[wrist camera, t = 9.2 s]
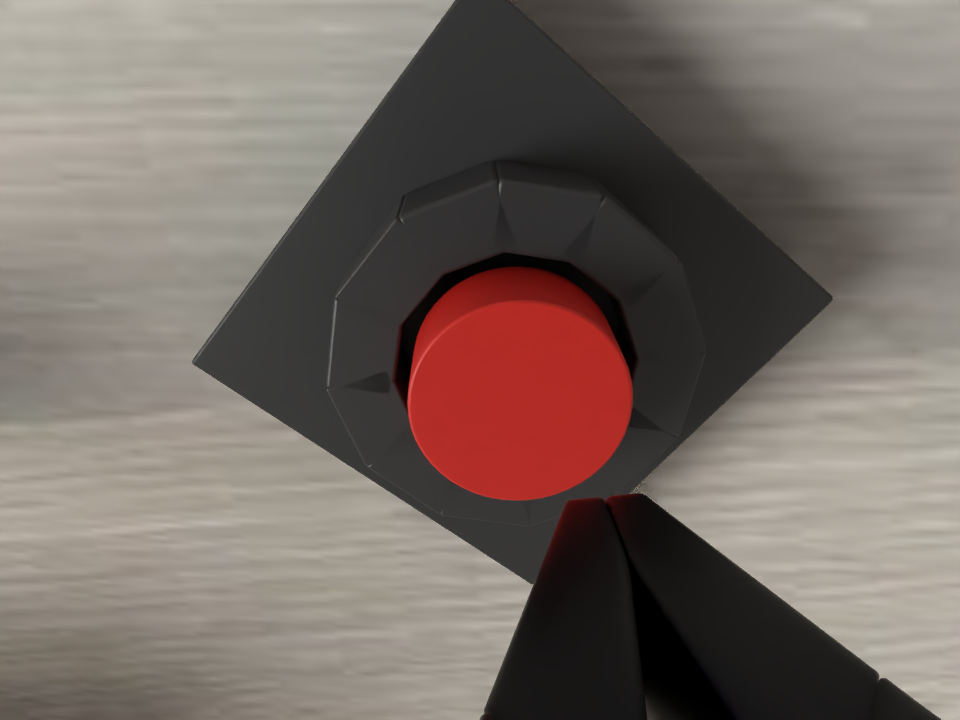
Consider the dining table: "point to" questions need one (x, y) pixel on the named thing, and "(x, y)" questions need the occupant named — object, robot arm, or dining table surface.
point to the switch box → (504, 243)
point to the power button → (518, 385)
